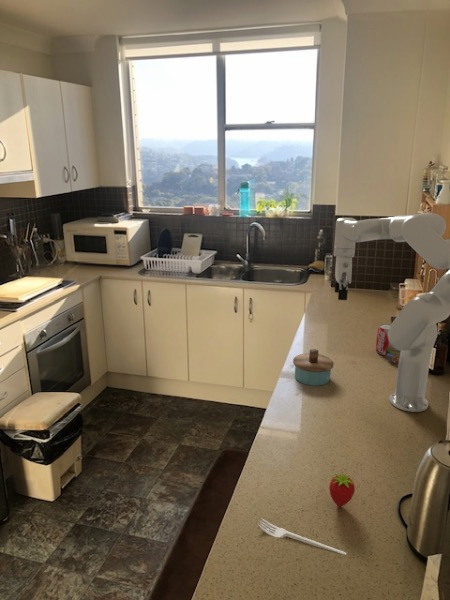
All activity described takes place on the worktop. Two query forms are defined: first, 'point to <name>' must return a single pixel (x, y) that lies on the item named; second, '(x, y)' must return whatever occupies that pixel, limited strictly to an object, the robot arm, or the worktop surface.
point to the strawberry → (341, 489)
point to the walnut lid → (313, 362)
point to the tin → (392, 354)
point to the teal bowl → (312, 377)
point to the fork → (293, 536)
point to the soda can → (382, 339)
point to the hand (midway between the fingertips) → (340, 296)
